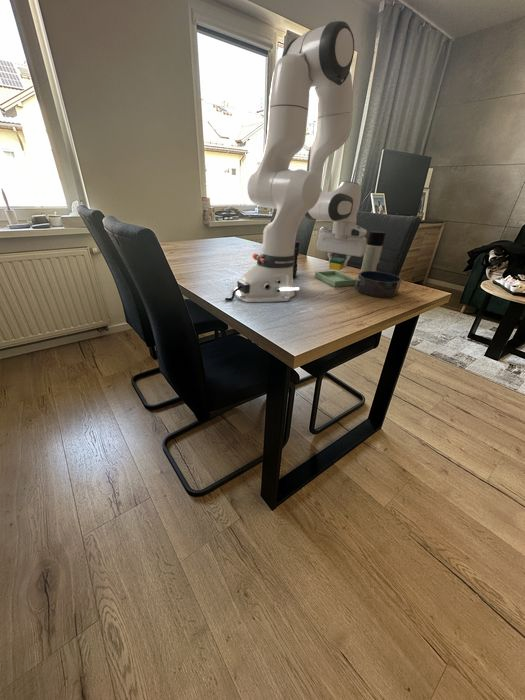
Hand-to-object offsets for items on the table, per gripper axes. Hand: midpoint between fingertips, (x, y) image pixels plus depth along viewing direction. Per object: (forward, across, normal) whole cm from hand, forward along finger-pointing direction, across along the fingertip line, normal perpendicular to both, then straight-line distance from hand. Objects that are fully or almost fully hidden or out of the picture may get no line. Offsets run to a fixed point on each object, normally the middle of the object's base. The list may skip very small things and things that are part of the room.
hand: (337, 264), depth 119 cm
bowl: (+7, +18, -3) cm, 20 cm away
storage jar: (+7, -20, -8) cm, 23 cm away
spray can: (+7, +10, +12) cm, 17 cm away
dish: (+7, 0, 0) cm, 7 cm away
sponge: (+2, 0, 0) cm, 2 cm away
